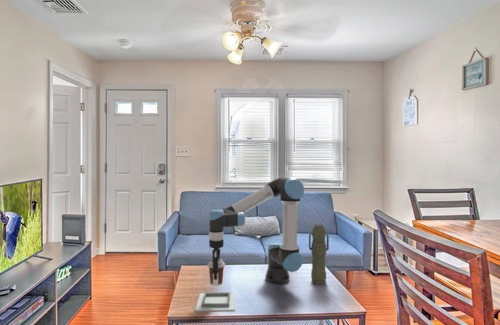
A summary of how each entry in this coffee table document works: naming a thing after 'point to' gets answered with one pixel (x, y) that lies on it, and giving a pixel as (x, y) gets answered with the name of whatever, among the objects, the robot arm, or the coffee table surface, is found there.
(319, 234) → the thermos
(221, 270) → the coffee cup
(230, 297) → the square seat
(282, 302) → the coffee table surface
